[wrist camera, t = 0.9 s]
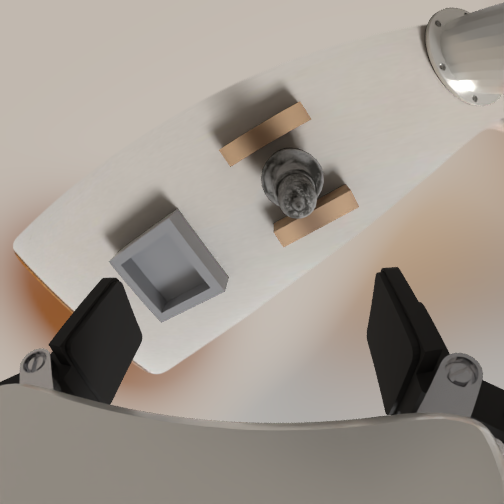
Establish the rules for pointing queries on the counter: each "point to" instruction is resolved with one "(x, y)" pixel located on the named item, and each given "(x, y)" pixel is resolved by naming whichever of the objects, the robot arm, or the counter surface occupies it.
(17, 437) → the robot arm
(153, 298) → the square tray
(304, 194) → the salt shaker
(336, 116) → the counter surface
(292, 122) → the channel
